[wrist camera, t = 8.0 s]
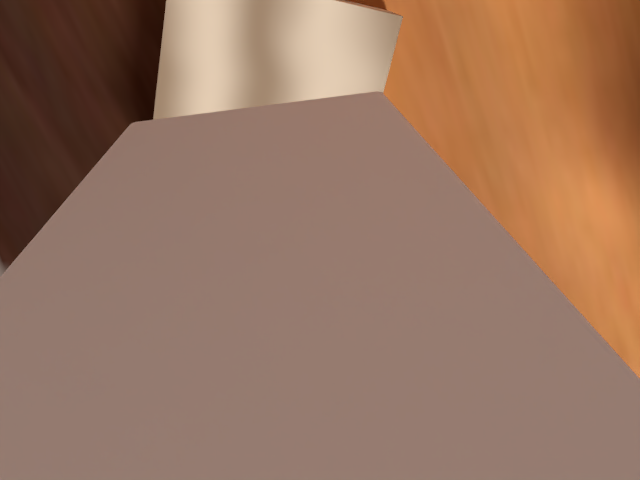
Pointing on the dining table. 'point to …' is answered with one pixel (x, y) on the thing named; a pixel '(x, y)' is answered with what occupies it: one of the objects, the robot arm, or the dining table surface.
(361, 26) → the birch block
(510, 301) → the milk carton
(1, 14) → the dining table surface
